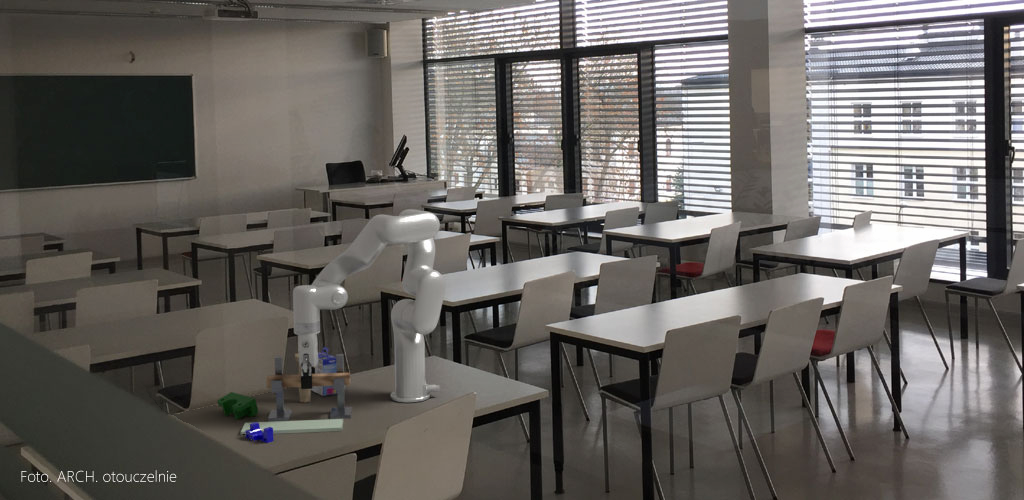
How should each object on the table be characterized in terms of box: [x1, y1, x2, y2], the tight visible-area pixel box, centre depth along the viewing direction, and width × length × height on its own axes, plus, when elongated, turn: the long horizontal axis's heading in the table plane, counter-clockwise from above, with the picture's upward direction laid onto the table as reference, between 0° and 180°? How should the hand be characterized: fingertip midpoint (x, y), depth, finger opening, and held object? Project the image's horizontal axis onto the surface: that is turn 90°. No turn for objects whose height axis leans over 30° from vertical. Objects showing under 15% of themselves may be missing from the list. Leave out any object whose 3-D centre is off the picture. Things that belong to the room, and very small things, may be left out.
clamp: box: [217, 391, 259, 420], centre depth 283 cm, size 12×6×9 cm, turn 47°
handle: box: [294, 352, 312, 403], centre depth 296 cm, size 5×6×15 cm
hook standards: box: [267, 353, 353, 422], centre depth 281 cm, size 24×9×18 cm, turn 97°
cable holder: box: [245, 421, 274, 444], centre depth 262 cm, size 8×4×4 cm, turn 50°
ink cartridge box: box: [311, 346, 337, 397], centre depth 307 cm, size 10×6×14 cm, turn 38°
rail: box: [266, 372, 351, 389], centre depth 279 cm, size 24×3×3 cm, turn 97°
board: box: [240, 418, 344, 435], centre depth 271 cm, size 28×8×1 cm, turn 97°
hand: (308, 384), depth 279 cm, fingers open, 9 cm apart
